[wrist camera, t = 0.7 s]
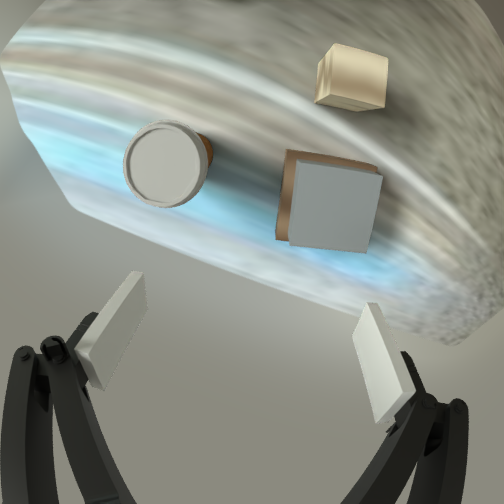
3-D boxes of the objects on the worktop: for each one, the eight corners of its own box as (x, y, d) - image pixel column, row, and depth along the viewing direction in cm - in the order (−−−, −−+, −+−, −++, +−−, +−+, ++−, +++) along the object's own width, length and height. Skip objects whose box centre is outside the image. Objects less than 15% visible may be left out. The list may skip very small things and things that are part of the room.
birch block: (318, 63, 29) (334, 43, 20) (360, 73, 29) (388, 58, 20) (314, 103, 32) (330, 93, 23) (356, 111, 32) (384, 107, 23)
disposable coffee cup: (148, 159, 36) (104, 174, 26) (188, 108, 33) (153, 101, 22) (195, 199, 39) (167, 229, 28) (239, 150, 35) (225, 160, 25)
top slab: (296, 158, 32) (300, 162, 29) (371, 170, 32) (382, 176, 28) (287, 233, 37) (289, 245, 33) (357, 240, 36) (366, 253, 33)
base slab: (285, 148, 35) (287, 150, 32) (367, 162, 35) (377, 167, 32) (275, 229, 41) (275, 239, 37) (351, 239, 40) (358, 250, 37)
